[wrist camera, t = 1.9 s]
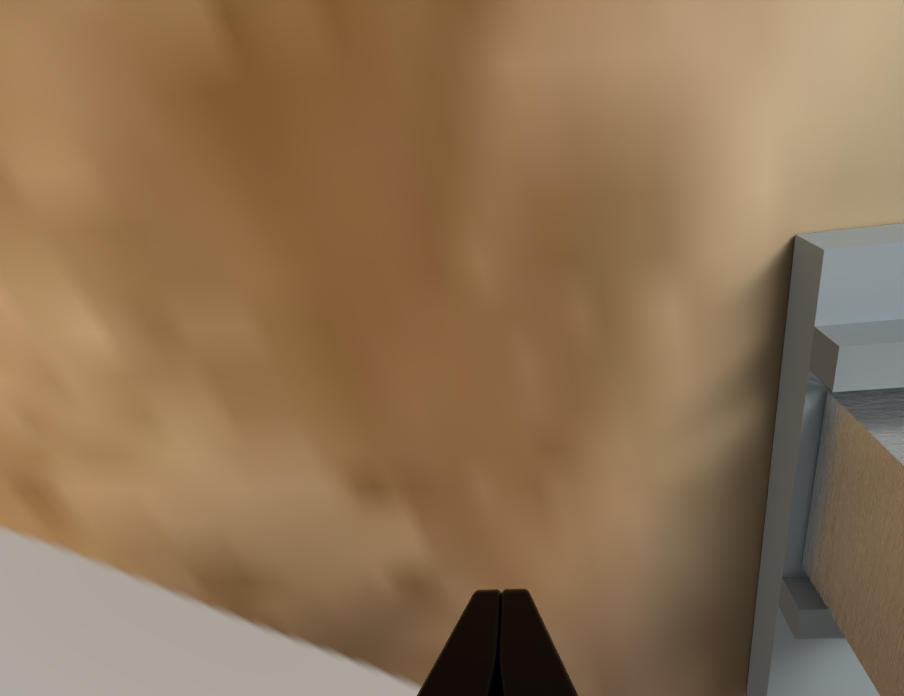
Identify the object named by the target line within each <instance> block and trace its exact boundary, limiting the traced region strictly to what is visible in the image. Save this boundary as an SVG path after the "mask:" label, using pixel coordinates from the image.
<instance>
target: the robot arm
mask: <svg viewBox="0 0 904 696" xmlns="http://www.w3.org/2000/svg"><path fill="white" fill-rule="evenodd" d="M417 696H578V694H577V692H576V690H575V688H574V686H573V684H572V682H571V679H570V677H569V675H568V673H567V671H566V669H565V667H564V665H563V662H562V660H561V658H560V656H559V654H558V652H557V650H556V648H555V646H554V643H553V641H552V639H551V637H550V635H549V633H548V631H547V629H546V626H545V624H544V622H543V620H542V618H541V616H540V614H539V612H538V609H537V607H536V605H535V603H534V601H533V599H532V597H531V595H530V593H529V591H528V590H526V589H505V590H504V591H503V592H502V593H501V592H500V591H499V590H497V589H495V590H477V591H476V592H475V593H474V594H473V595H472V597H471V599H470V601H469V603H468V604H467V606H466V608H465V610H464V612H463V613H462V615H461V617H460V619H459V621H458V622H457V624H456V626H455V628H454V630H453V632H452V633H451V635H450V637H449V639H448V641H447V642H446V644H445V646H444V648H443V650H442V651H441V653H440V655H439V657H438V659H437V660H436V662H435V664H434V666H433V668H432V669H431V671H430V673H429V675H428V677H427V679H426V680H425V682H424V684H423V686H422V688H421V689H420V691H419V693H418V695H417Z"/></svg>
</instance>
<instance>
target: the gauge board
mask: <svg viewBox="0 0 904 696" xmlns="http://www.w3.org/2000/svg"><path fill="white" fill-rule="evenodd" d="M901 387H904V223H899V224H890V225H881V226H871V227H862V228H853V229H843V230H834V231H824V232H815V233H806V234H796V235H795V245H794V254H793V263H792V273H791V282H790V291H789V301H788V310H787V319H786V329H785V338H784V347H783V357H782V366H781V375H780V385H779V394H778V403H777V413H776V422H775V431H774V441H773V450H772V459H771V469H770V478H769V487H768V497H767V506H766V515H765V525H764V534H763V543H762V553H761V562H760V571H759V581H758V590H757V599H756V609H755V618H754V627H753V637H752V646H751V655H750V665H749V674H748V683H747V692H746V695H747V696H880V695H879V693H878V692H877V690H876V688H875V687H874V685H873V683H872V682H871V680H870V678H869V677H868V675H867V673H866V672H865V670H864V668H863V667H862V665H861V663H860V662H859V660H858V658H857V657H856V655H855V653H854V652H853V650H852V648H851V647H850V645H849V643H848V642H847V640H846V638H845V637H844V635H843V633H842V632H841V630H840V628H839V627H838V625H837V623H836V622H835V620H834V618H833V617H832V615H831V613H830V612H829V610H828V608H827V607H826V605H825V603H824V602H823V600H822V598H821V597H820V595H819V594H818V592H817V590H816V589H815V587H814V585H813V584H812V582H811V580H810V579H809V577H808V575H807V574H806V572H805V570H804V569H803V567H802V563H803V556H804V549H805V543H806V536H807V529H808V522H809V515H810V508H811V502H812V495H813V488H814V481H815V474H816V468H817V461H818V454H819V447H820V440H821V433H822V427H823V420H824V413H825V406H826V399H827V393H828V391H832V392H844V391H858V390H872V389H886V388H901Z"/></svg>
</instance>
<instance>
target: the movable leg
mask: <svg viewBox="0 0 904 696" xmlns="http://www.w3.org/2000/svg"><path fill="white" fill-rule="evenodd" d="M802 567H803V569H804V570H805V572H806V574H807V575H808V577H809V579H810V580H811V582H812V584H813V585H814V587H815V589H816V590H817V592H818V594H819V595H820V597H821V598H822V600H823V602H824V603H825V605H826V607H827V608H828V610H829V612H830V613H831V615H832V617H833V618H834V620H835V622H836V623H837V625H838V627H839V628H840V630H841V632H842V633H843V635H844V637H845V638H846V640H847V642H848V643H849V645H850V647H851V648H852V650H853V652H854V653H855V655H856V657H857V658H858V660H859V662H860V663H861V665H862V667H863V668H864V670H865V672H866V673H867V675H868V677H869V678H870V680H871V682H872V683H873V685H874V687H875V688H876V690H877V692H878V693H879V695H880V696H904V387H901V388H886V389H872V390H858V391H844V392H832V391H828V393H827V399H826V406H825V413H824V420H823V427H822V433H821V440H820V447H819V454H818V461H817V468H816V474H815V481H814V488H813V495H812V502H811V508H810V515H809V522H808V529H807V536H806V543H805V549H804V556H803V563H802Z"/></svg>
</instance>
